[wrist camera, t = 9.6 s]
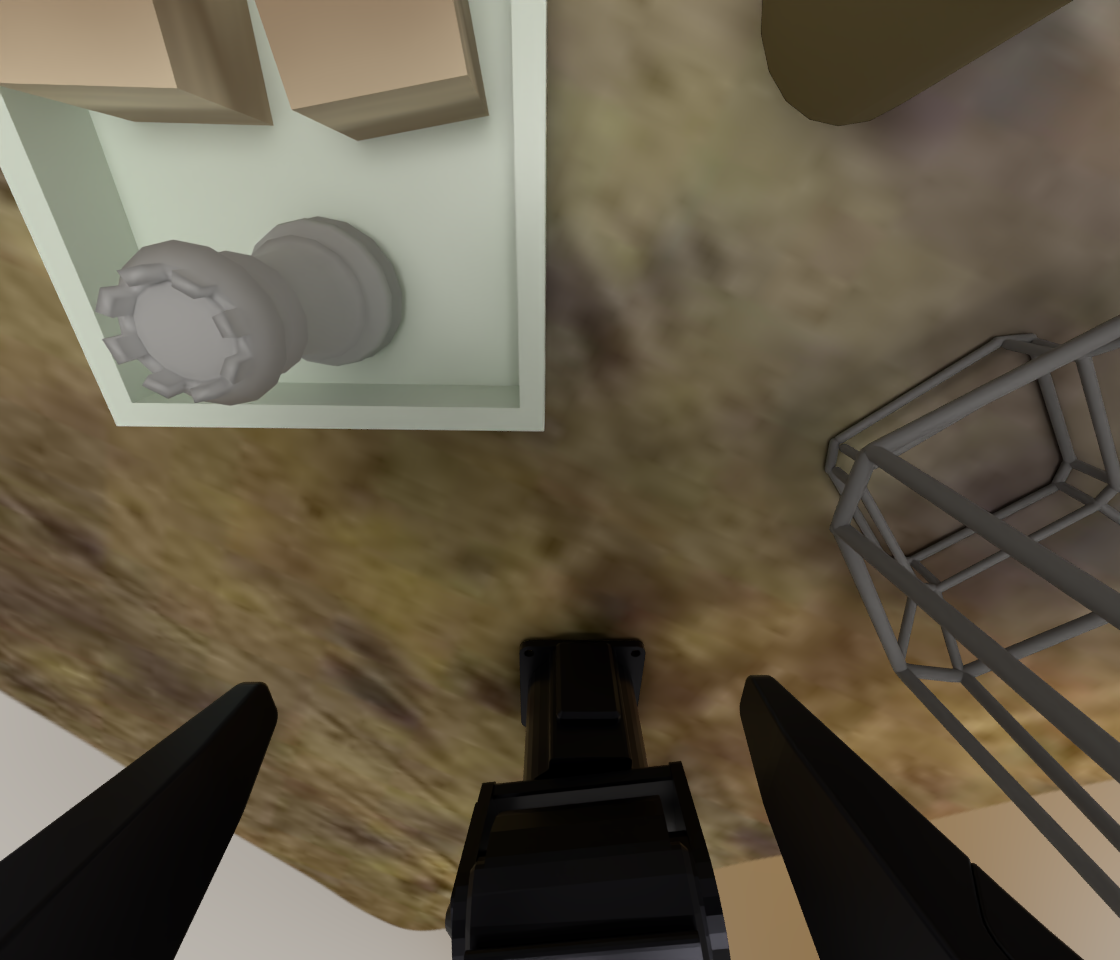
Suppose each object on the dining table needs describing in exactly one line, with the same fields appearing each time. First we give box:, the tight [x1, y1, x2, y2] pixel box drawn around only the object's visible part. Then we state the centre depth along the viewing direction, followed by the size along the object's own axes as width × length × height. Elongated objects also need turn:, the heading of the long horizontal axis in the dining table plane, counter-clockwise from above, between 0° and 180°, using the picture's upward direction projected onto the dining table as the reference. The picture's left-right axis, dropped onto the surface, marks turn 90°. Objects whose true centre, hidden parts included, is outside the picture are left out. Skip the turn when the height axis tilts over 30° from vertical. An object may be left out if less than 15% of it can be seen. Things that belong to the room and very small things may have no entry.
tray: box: [0, 0, 547, 431], centre depth 14 cm, size 14×14×3 cm
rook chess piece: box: [95, 216, 402, 406], centre depth 12 cm, size 4×4×8 cm
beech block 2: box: [255, 0, 489, 141], centre depth 11 cm, size 4×4×4 cm
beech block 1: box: [0, 0, 274, 126], centre depth 11 cm, size 4×4×4 cm
